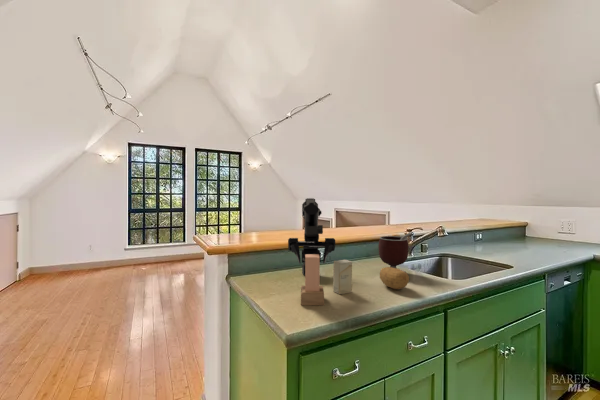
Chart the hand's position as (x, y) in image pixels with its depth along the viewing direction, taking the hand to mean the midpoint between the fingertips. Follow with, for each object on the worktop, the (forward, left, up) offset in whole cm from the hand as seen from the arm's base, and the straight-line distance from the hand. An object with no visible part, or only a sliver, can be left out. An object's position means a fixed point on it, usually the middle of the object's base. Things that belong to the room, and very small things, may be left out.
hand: (311, 263), depth 108 cm
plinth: (+2, +6, -12) cm, 14 cm away
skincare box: (-13, +1, -12) cm, 18 cm away
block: (+2, +6, -8) cm, 10 cm away
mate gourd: (-49, -15, -12) cm, 52 cm away
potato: (-35, +3, -12) cm, 37 cm away
